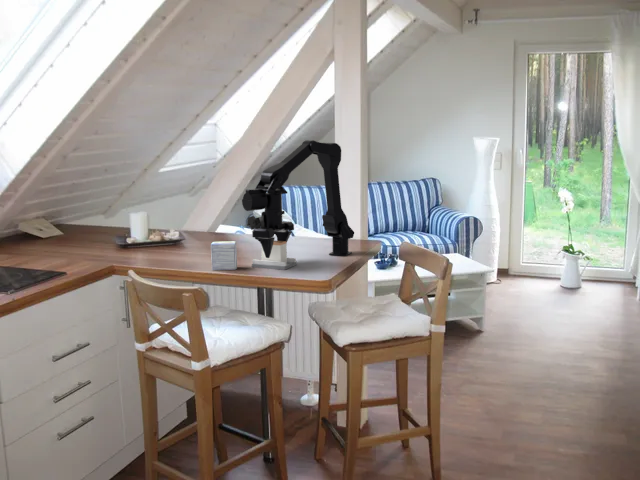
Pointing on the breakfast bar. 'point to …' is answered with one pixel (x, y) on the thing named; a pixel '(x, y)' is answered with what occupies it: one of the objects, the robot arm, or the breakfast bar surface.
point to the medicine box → (224, 255)
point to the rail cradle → (275, 264)
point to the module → (277, 252)
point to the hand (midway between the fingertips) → (274, 255)
